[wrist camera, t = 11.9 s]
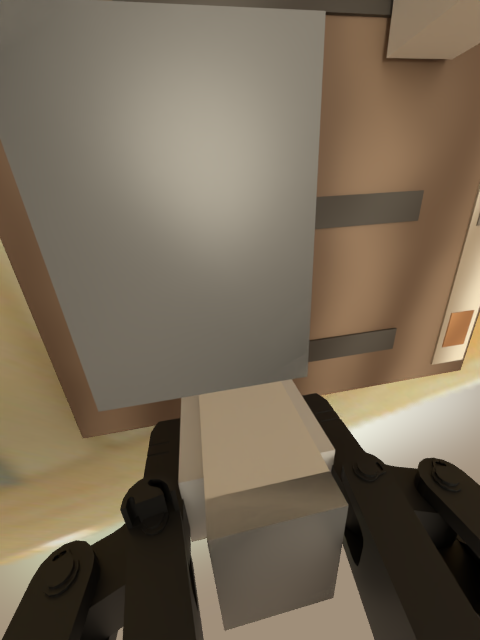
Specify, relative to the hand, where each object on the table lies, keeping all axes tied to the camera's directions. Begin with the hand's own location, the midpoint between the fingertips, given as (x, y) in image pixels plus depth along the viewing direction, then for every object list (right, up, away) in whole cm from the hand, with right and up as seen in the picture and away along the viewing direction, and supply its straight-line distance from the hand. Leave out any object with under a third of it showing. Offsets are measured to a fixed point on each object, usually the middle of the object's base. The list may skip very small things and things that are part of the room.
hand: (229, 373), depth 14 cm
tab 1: (-2, +7, -2) cm, 8 cm away
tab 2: (0, 0, +1) cm, 1 cm away
